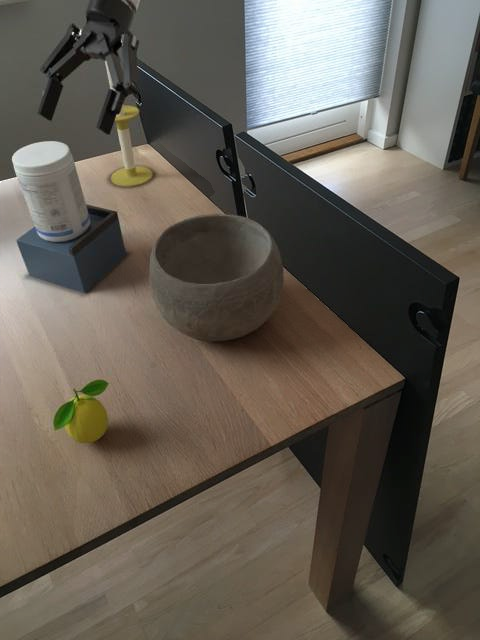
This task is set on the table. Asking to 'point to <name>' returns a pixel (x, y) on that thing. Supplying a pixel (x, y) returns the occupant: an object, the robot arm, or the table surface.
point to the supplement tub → (52, 190)
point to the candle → (127, 149)
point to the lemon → (84, 414)
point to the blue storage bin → (76, 252)
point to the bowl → (216, 276)
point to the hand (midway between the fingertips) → (72, 124)
